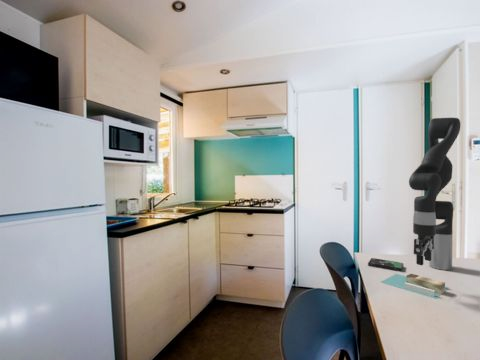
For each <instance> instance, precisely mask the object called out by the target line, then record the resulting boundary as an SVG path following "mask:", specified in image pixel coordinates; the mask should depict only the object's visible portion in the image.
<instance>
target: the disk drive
mask: <svg viewBox="0 0 480 360" xmlns="http://www.w3.org/2000/svg"><path fill="white" fill-rule="evenodd" d="M367 266H368V267H373V268H378V269H384V270H389V271H395V272H401V273H402V272H403V268H404V263H403V262H399V261H393V260H387V259H381V258H375V257H374V258H373V257H371V258H370V259H369V261H368V262H367Z"/></svg>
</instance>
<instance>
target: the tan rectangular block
mask: <svg viewBox="0 0 480 360" xmlns="http://www.w3.org/2000/svg"><path fill="white" fill-rule="evenodd" d="M405 276H406V283H410V284H414V285H417V286H421V287H424V288H428V289H432V290H435V293H438V294H441V295H442V294H444V293H445V292H446V291H445V287H446V282H445V281H440V280H436V279H432V278H430V277H429V278H428V277H425V276H421V275H418V274H414V273H409V274H407V275H405ZM443 292H444V293H443Z"/></svg>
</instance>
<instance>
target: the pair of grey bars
mask: <svg viewBox="0 0 480 360" xmlns="http://www.w3.org/2000/svg"><path fill="white" fill-rule="evenodd" d="M405 288H406V289H410V290H413V291H416V292H420V293H423V294H427V295H430V296H433V297H434V296H435V290H432V289H428V288H424V287H421V286H417V285H414V284H410V283H405Z"/></svg>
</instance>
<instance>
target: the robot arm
mask: <svg viewBox="0 0 480 360" xmlns="http://www.w3.org/2000/svg"><path fill="white" fill-rule="evenodd" d="M427 131H428V132H427V133H428V135H427V137H428V150H427V151H426V153H425V154H424V156H423V158H422V161H421V164H420V165H419V166H417V168H416V169H415V170H414V171H413V172H412V174H410V177H409V180H408V185H409V187H410V189H412V190H413V191H422V192H423V191H427V193H426V194H425V195H420V196H416V197H415V198H414V202H413V203H414V204H413V206H414V209H413V210H414V211H413V219H412V221H413V222H412V224H413V225H412V226H413V227H412V228H413V234H414V235H417V238H414V240H413V254H414V255H416V257H415V258H416V260H415V262H416V263H415V264H417V265H418V266H423V265H424V260H425V261H428V263H429V265H428V266H429V267H430V268H434V269H437V270H443V271H451V270H453V223H454V222H453V219H454V205H453V202H452V201H448V200H437V197H438V195H439V194H440V193H441V192H442V190H443V189H444V188H445V187H446V186H448V184H449V183H450V181H451V180H452V178H453V164H452V163H453V162H452V161H451V160H450V157H448V156H447V154H448V152H450V149H451V148H452V146H453V145H454V143H455V141H456V140H457V138H458V136H459V134H460V131H461V120H460V119H459V117H437V118H431V119H430V120H429V123H428V127H427ZM439 140H441V141H439ZM437 220H444V221H443V222H441V223H439V224H437Z"/></svg>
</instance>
